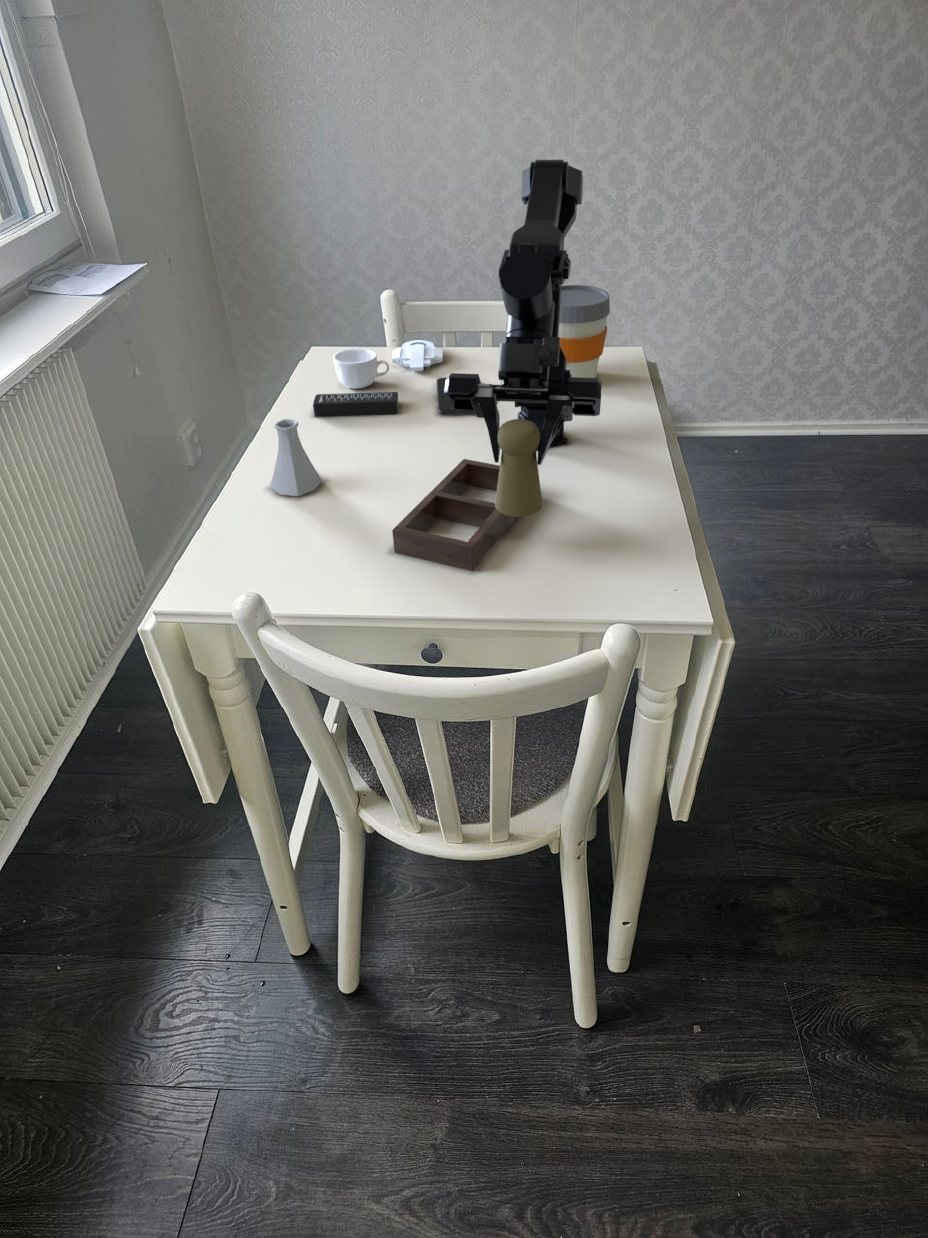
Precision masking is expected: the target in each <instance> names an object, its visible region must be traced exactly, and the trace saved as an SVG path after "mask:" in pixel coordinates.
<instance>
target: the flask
mask: <svg viewBox="0 0 928 1238" xmlns="http://www.w3.org/2000/svg"><path fill="white" fill-rule="evenodd" d="M273 427H274V429H276V431H277V437H278V442H277V443H278V444H277V445H278V447H277V448H278V449H277V455H276V460H275V464H274V465H275V466H274V470H273V474H272V478H271V482H270V489H271V490H273V491H275V492H276V493H277V494H278V495H281V496H292V497H300V496H302V495H305V494H308V493H310V492H313V491H315V490H316V489H317V488H318V487H319V485H320V484H321V483H322V481H323V480H322V478H321V476H320V474H319V473H318V471H317V469H316V468H315V466H314V465H313V463H312V461H311V460H310V458H309V456H308V454H307V452H306V451H305V448H304V447H303V445H302V442H301V440H300V436H299V431H298V427H299V421H297V420H295V419H291V418H285V419H281V420H278V421H277V422H276V423H275V424H274V425H273Z"/></svg>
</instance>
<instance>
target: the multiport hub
mask: <svg viewBox="0 0 928 1238" xmlns="http://www.w3.org/2000/svg"><path fill="white" fill-rule="evenodd" d="M399 399H400V398H399V392H398V391H378V392H377V391H374V392H349V393H348V392H346V393H345V392H344V393H318V394H315V395H314V398H313V402H312V408H313V414H314V415H313V416H314V417H316V418H320V417H321V418H322V417H345V416H346V417H350V416H351V417H353V416H384V415H385V416H386V415H397V414H399V408H400V400H399Z"/></svg>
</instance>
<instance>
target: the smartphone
mask: <svg viewBox="0 0 928 1238" xmlns="http://www.w3.org/2000/svg"><path fill="white" fill-rule="evenodd" d="M447 377H448V376H446V377H439V378H437V379H436V396H437V412H438V414H440V415H445V416H446V415H464V414H465V415H466V414H475V412H474V411H455V410H453V409H451V408H450V406H449V404H448V401H447V399H446V397H445V394H444V390H445V381H446V378H447Z"/></svg>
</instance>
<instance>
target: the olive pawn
mask: <svg viewBox="0 0 928 1238" xmlns="http://www.w3.org/2000/svg"><path fill="white" fill-rule="evenodd" d="M497 441H498V445H499V447H500V451H501V456H500V462H499V463H500V464H499V466H500V470H499V477H498V485H497V490H496V492H495V493H496V494H495V499H494V500H495V501H494V503H495V507H496V509H497V510H498V511H499V512H500V513H503V514H505V515H508V516H514V517H516V518H517V517H520V518H522V517H528V516H532V515H535V514H537V513H538V512H539V511H541V509H542V507H543V499H542V498H543V497H542V490H541V489H542V488H541V481H540V472H539V465H538V463H537V460H538V455H537V450H538V449H539V448H538V446H539V444H540V430H539V428H538V427H537V425H536V424H535V423H533V422H531V421H529V420H525V419H518V418H515V419H509V420H506V421H505V422H504V423H502V424H501V425H500V428H499V431H498V435H497ZM537 448H538V449H537Z"/></svg>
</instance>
